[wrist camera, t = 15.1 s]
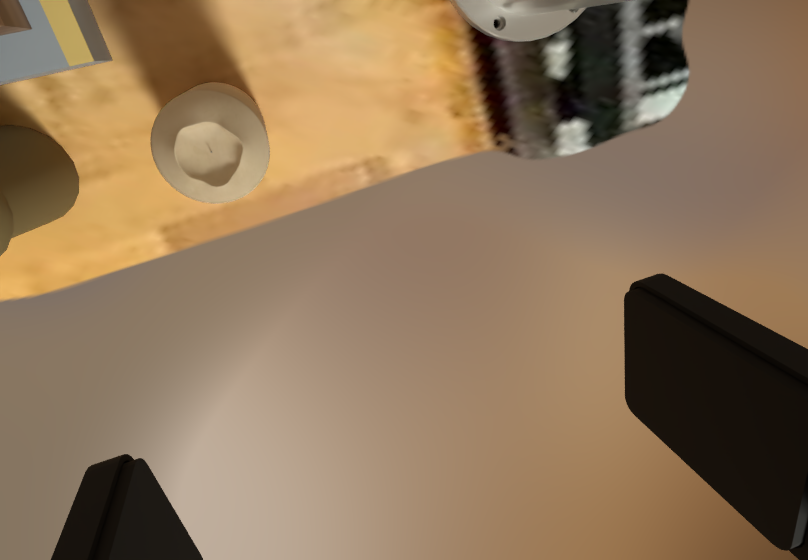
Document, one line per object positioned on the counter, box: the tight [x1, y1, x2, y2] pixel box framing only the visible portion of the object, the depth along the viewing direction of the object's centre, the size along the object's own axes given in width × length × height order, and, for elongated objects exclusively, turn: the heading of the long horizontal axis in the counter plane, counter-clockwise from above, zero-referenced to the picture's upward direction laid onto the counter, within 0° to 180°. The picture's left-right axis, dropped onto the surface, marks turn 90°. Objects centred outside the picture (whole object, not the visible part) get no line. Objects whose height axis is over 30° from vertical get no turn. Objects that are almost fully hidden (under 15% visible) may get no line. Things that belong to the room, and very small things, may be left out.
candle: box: [151, 82, 270, 204], centre depth 28 cm, size 6×6×10 cm
